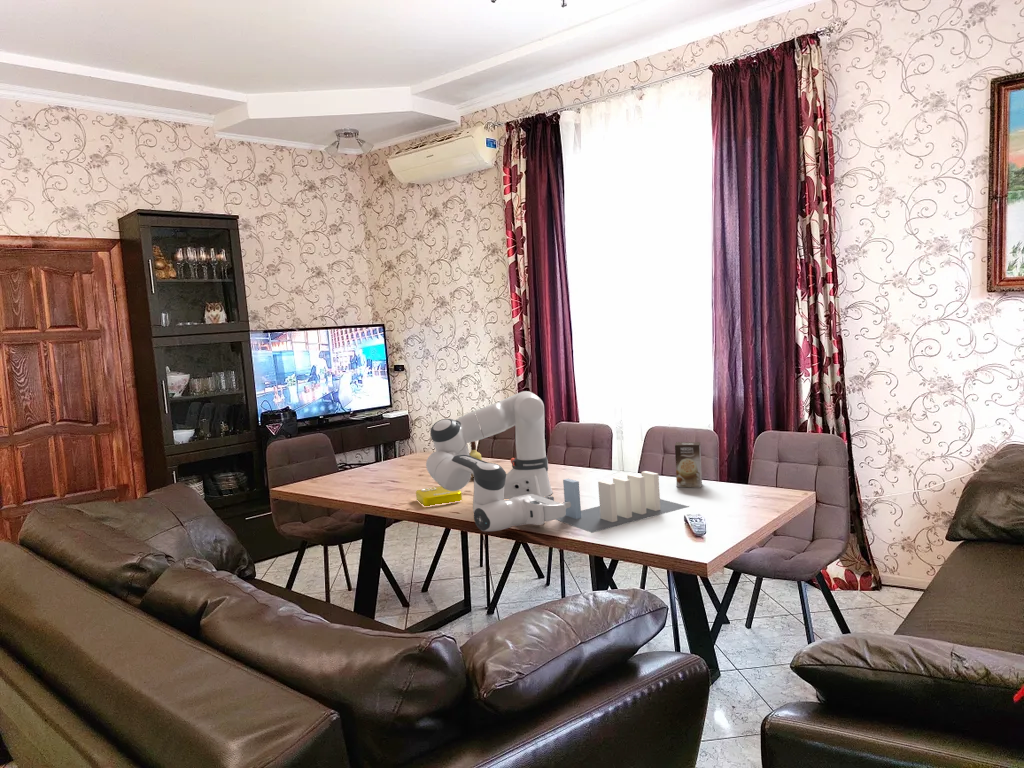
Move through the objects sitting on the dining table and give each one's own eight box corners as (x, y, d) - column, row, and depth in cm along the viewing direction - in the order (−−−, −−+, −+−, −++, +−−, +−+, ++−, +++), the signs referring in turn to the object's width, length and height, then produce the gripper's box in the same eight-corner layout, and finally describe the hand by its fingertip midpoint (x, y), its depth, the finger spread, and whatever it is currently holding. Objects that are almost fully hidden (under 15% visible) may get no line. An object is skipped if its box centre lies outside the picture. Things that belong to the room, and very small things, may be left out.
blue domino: (576, 519, 224) (573, 482, 223) (565, 515, 229) (563, 479, 228) (581, 517, 225) (578, 481, 224) (570, 514, 230) (568, 478, 229)
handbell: (458, 472, 317) (453, 418, 315) (467, 466, 328) (462, 414, 326) (483, 472, 313) (479, 417, 311) (492, 466, 325) (487, 413, 323)
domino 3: (641, 514, 224) (639, 477, 223) (629, 510, 229) (627, 475, 228) (646, 513, 225) (644, 476, 224) (634, 509, 230) (632, 474, 229)
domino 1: (612, 522, 218) (609, 484, 217) (600, 518, 223) (598, 481, 222) (617, 520, 219) (614, 483, 218) (605, 517, 224) (603, 480, 223)
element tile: (424, 509, 256) (423, 497, 256) (415, 501, 270) (414, 489, 270) (463, 503, 261) (462, 490, 261) (452, 495, 275) (451, 483, 275)
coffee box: (676, 487, 259) (673, 445, 258) (677, 483, 265) (675, 441, 264) (701, 487, 256) (699, 444, 255) (702, 483, 262) (700, 441, 261)
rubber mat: (592, 535, 209) (591, 532, 209) (551, 520, 228) (551, 517, 228) (689, 509, 229) (689, 506, 229) (644, 497, 248) (644, 495, 248)
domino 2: (627, 518, 221) (624, 481, 220) (615, 514, 226) (612, 478, 225) (632, 517, 222) (629, 480, 221) (620, 513, 227) (617, 477, 226)
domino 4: (655, 510, 227) (653, 474, 226) (643, 507, 232) (641, 472, 231) (660, 509, 228) (658, 473, 227) (648, 506, 233) (645, 470, 232)
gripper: (508, 512, 226) (543, 504, 233) (542, 526, 209) (580, 517, 216) (506, 493, 226) (542, 486, 233) (541, 505, 208) (578, 497, 215)
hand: (560, 501), depth 224 cm, fingers open, 8 cm apart
